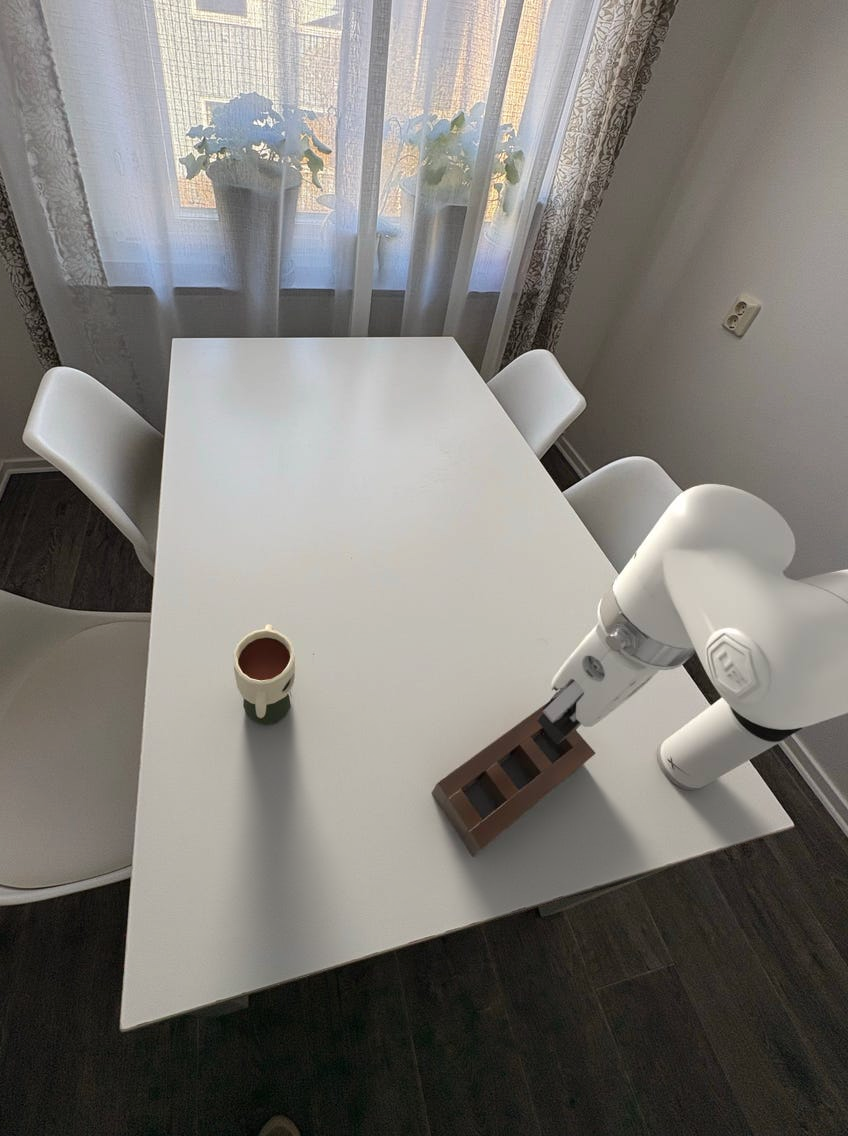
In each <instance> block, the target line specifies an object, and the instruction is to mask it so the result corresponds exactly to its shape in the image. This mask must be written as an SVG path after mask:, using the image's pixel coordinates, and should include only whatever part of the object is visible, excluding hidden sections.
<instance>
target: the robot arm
mask: <svg viewBox="0 0 848 1136" xmlns="http://www.w3.org/2000/svg"><path fill="white" fill-rule="evenodd" d="M795 553H796V539H795V536H794V533H793V531H792V528H791V527H790V525H789V524H788V522H787V521H786V519H785V518H784V517H783V516H782V515H781V514H780V512H778V511H777V510H776V509H775V508H774V507H773V506H771V505H770V504H769V503H767V502H766V501H764V500H763V499H761V498H760V497H758V496H756V495H754V494H752V493H751V492H748V491H746V490H743V489H740V488H737V487H734V486H731V485H726V484H717V483H704V484H699V485H695V486H692V487H690V488H688V489H685V490H684V491H683V492H681V493H680V494H679V495H677V496H676V498H674V500H673V501H672V502H671V503H670V505H669V506H668V507H667V509H665V511H664V512H663V514H662V515H661V516H660V518H659V519H658V520H657V522H656V523H655V525H654V526H653V528H651V531H650V532H649V533H648V534H647V536H646V537H645V539H644V540H643V541H642V543H641V544H640V545H639V547H638V548H637V550H636V551H635V553H634V554H633V555H632V556H631V558H630V559H629V561H628V562H627V564H626V565H625V566H624V568H623V569H622V570H621V572H620V573H619V574H618V576H617V577H616V578H615V580H614V581H613V582H612V583H611V585H610V587H609V588H608V589H607V591H606V592H605V593H604V595H603V596H602V597H601V599H600V601H598V602H599V603H598V605H597V612H596V616H597V621H598V623H597V624H596V625H595V626H594V627H593V628H592V630H591V631H590V632H589V633H588V634H587V635H585V636H584V638H583V640H582V641H581V642H580V643H579V645H578V646H577V647H576V648H575V649H574V651H573V652H572V653H571V654H570V655H569V656H568V658H567V659H566V660H565V662H564V663H563V664H562V665H561V667H560V668H559V669H558V671H557V672H556V673H555V675H554V677H553V678H552V680H551V685H550V687H551V691H555V693H554V694H553V696H552V697H551V698H550V700H549V701H547V702H546V703H547V705H546V706H545V707H544V709H543V713H544V714H545V716H546V717H547V718H548V719H549V721H550V722H551V724H552V725H553V726H554V727H555V728H557V729H559V730H560V732H561V733H562V734H563V735H564V736H567V735H568V734H569V733H570V732H571V731H572V730H573V729H574V728H575V727H576V726H577V725H578V724H579V723H581V726H582V727H587V728H591V727H593V726H595V725H597V724H598V723H600V722H601V721H602V720H603V719H605V718H606V717H607V716H608V715H610V714H611V713H612V712H614V711H615V710H616V709H618V708H619V707H620V706H621V705H623V704H624V703H625V702H627V701H628V700H630V699H631V698H632V696H634V695H635V694H636V693H638V692H639V691H640V690H641V689H643V687H645V686H646V685H647V684H648V683H649V682H650V681H651V680H652V679H653V678H654V676H655V675H656V674H657V673H658V672H659V671H668V670H674V669H677V668H680V667H682V666H683V665H684V664H685V663H686V662H687V661H688V660H689V659H690V658H692V657H693V656H694V655H695V654H696V656H697V657H698V659H699V661H700V663H701V665H702V667H703V669H704V671H705V673H706V675H707V677H708V678H709V680H710V682H711V684H712V685H713V687H714V688H715V690H716V691H717V693H718V694H719V695H720V698H723V699H724V700H725V701H726V702H727V703H728V704H729V705H730V706H731V707H732V708H733V709H734V710H735V711H736V712H737V713H739V714H740V715H741V716H743V717H744V718H746V719H748V720H749V721H751V722H753V723H755V724H758V725H760V726H763V727H767V728H772V729H780V730H787V729H796V728H802V727H803V728H806V727H809V726H810V727H811V726H813V725H816V724H819V723H821V722H824V721H827V720H830V719H834V718H837V717H840V716H843V715H846V714H848V568H847V569H842V570H836V571H831V572H826V573H822V574H821V573H820V574H816V575H813V576H812V575H811V576H809V577H804V578H801V579H796V580H795V579H791V578H789V577H787V576H786V575H785V574H784V572H785V570H786V569H788V567H789V566H790V564H791V563H792V561H793V559H794V556H795ZM575 703H576V704H575ZM803 728H802V729H803Z"/></svg>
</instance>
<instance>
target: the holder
mask: <svg viewBox="0 0 848 1136" xmlns="http://www.w3.org/2000/svg"><path fill="white" fill-rule="evenodd" d="M547 703H548V702H546V703H545V704H543V705H542V706H541V707H539V708H538V709H537V710H535V711H534V712H532V713H531V714H530V715H528V716H527V717H526V718H524V719H522V721H520V722H519V723H517V724H516V725H514V726H513V727H512V728H511V729H509V730H507V731H506V732H505V733H504V734H502V735H501V736H499V737H498V738H496V740H494V741H493V742H491V743H490V744H488V745H487V746H485V747H484V748H483V749H481V750H480V751H479V752H477V753H475V755H473V756H472V757H470V758H469V759H468V760H466V761H464V763H462V764H460V765H459V766H458V767H457V768H455V769H454V770H452V771H451V772H450V773H448V774H447V775H446V776H444V777H442V778H441V779H440V780H439V781H437V783H436V784H435V786H434V787H433V789H432V791H431V794H432V796H433V797H434V799H435V800H436V802H437V804H438V805H439V807H440V808H441V810H442V811H443V813H444V815H445V816H446V818H447V819H448V821H449V823H450V824H451V825H452V827H453V829H454V831H455V832H456V833H457V835H458V836H459V838H460V840H461V841H462V843H463V844H464V846H465V848H466V849H467V851H468V852H469V854H470V855H471V857H475V856H476V855H477V854H478V853H479V852H481V851H482V850H483V849H484V848H486V847H487V846H489V844H490V843H491V842H493V841H494V840H495V839H496V838H497V837H499V836H500V835H501V834H502V833H503V832H504V831H506V830H507V829H508V828H510V827H511V826H512V825H513V824H515V822H516V821H517V820H519V819H520V818H521V817H522V816H524V815H525V814H526V813H528V811H530V810H531V809H532V808H533V807H535V806H536V805H537V804H538V803H540V801H542V800H543V799H544V798H545V797H546V796H547V795H549V794H550V793H551V792H552V791H554V789H556V788H557V787H558V786H559V785H561V784H562V783H563V782H564V781H565V780H566V779H568V778H569V777H570V776H571V775H572V774H574V773H575V772H576V771H577V770H578V769H580V768H581V767H582V766H583V765H585V764H586V763H587V762H588V761H589V760H590V759H592V758H593V757H594V756H595V755H596V751H595V750H594V749H593V748H592V747H591V746H590V744H589V743H588V742H587V741H586V740H585V739H584V738H583V737H582V735H581V734H580V733H579V732H578V730H577V729H576V730H575V731H574V732H573V733H571V734H570V735H569V736H568V737H566V738H565V739H564V740H562V741H561V742H560V743H558V744H556V743H555V742H554V741H553V740H552V738H551V737H550V736H549V735H548V733H547V732H546V731H545V730H544V729H543V727H542V726H541V725H540V724H539V722H538V721H537V720H538V718H539V717H540V716H541V715H542V713H543V709H544V707H545V706H546V705H547ZM540 734H542V736H543V737H544V739H545V740H546V741H547V742H548V743H549V744H550V746H551V747H552V748H553V749H554V750H555V752H556V753H557V754H558V755H559V758H558V759H557V760H556V761H554V762H553V763H552V761H551V760H550V759H549V757H548V756H547V755H546V754H545V753H544V752H543V750H542V749H541V748H540V746H539V745H538V744H537V742H536V741H535V740H534V739H535V738H536V737H538V736H539V735H540ZM509 758H511V759H512V760H513V761H514V763H515V764H516V765H517V767H518V768H519V769H520V771H521V772H522V773H523V774H524V776H525V777H526V779H527V781H529V783H527V784H526V785H524V786H523V787H522V788H521V789H520V790H519V789H518V788H517V786H516V785H515V783H514V782H513V781H512V780H511V777H509V775H508V774H507V773H506V771H505V770H504V768H503V767H502V766H501V764H502V763H504V762H505V761H506V760H507V759H509ZM475 783H478V784H479V786H480V787H481V789H482V790H483V792H484V793H485V794H486V796H487V797H488V799H489V800H490V801H491V803H492V804H493V806H494V807H495V808H496V809H495V810H493V811H492V812H491V813H490V814H489V815H487V816H486V817H485V818H484V819H483V818H482V817H481V815H480V814H479V813H478V811H477V810H476V808H475V807H474V805H473V804H472V803H471V801H470V799H469V797H468V796H467V795H466V793H465V791H466V790H468V789H469V788H471V787H472V786H473V785H474V784H475Z"/></svg>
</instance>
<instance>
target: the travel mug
mask: <svg viewBox="0 0 848 1136" xmlns="http://www.w3.org/2000/svg"><path fill="white" fill-rule="evenodd" d="M803 728H804V727H802V728H796V729H787V730H780V729H772V728H767V727H763V726H760V725H758V724H755V723H753V722H751V721H749V720H748V719H746V718H744V717H743V716H741V715H740V714H739V713H737V712H736V711H735V710H734V709H733V708H732V707H731V706H730V705H729V704H728V703H727V702H726V701H725V700H724V699H723V698H722V697H720V698H719V699H718V700H716V701H715V702H714V703H712V704H711V705H710V706H709V707H707V708H706V709H705V710H703V711H701V713H699V714H698V715H696V717H694V718H693V719H691V720H690V721H689V722H687V723H686V724H685V725H683V726H682V727H680V729H678V730H677V731H675V732H674V733H673V734H672V735H670V736H668V738H666V739H665V740H664V741H662V742H661V743H660V744H659V746H657V751H656V758H657V763H658V766H659V767H660V769H661V771H662V773H663V774H664V776H665V777H666V778H667V779H668V780H669V781H670V782H671V783H672V784H673V785H675V786H677V787H679V788H680V789H684V790H687V791H697V790H700V789H701V788H704V787H705V786H707V785H708V784H710V783H711V782H713V781H716V780H718V779H719V778H721V777H723V776H724V775H726V774H728V773H729V772H731V771H733V770H734V769H736V768H738V767H740V766H741V765H743V764H745V763H747V762H749V761H750V760H752V759H754V758H755V757H757V756H759V755H761V754H762V753H764V752H766V751H767V750H769V749H771V748H773V747H774V746H776V745H778V744H780V743H781V742H783V741H785V740H786V739H787V738H788V737H791V736H792V735H794V734H796V733H798V732H799V731H801V730H803Z"/></svg>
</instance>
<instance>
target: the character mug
mask: <svg viewBox="0 0 848 1136" xmlns="http://www.w3.org/2000/svg"><path fill="white" fill-rule="evenodd" d="M295 652H296V651H295V648H294V645H293V642H292V641H291V640H290V639H289V638H288V636H287V635H285V634H284V633H282V632H280V631H279V630H275V629H274V627H273V625H272V624H270V623H267V624H266V625H265V626H264V628H262V629H256V630H254V631H251V632H250V633H247V634H246V635H244V636H243V637H242V639H241V640H240V641H239V642H238V643H237V644H236V646H235V649H234V650H233V655H232V657H233V671H234V677H235V683H236V689H237V690H238V693H240V695H241V697H242V698H243V701H242V703H243V706H242V707H243V709H244V712H245V714H246V716H247V718H249V719H250V720H251V721H253V723H257V724H261V725H272V724H277V723H278V722H279V721H281V720H282V719H284V718H285V717H286V716H287V714H288V713H289V711H290V709H291V706H292V704H291V697H290V696H292V692H291V691H292V689H293V686H294V683H295V679H296V654H295ZM289 694H290V695H289Z"/></svg>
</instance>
